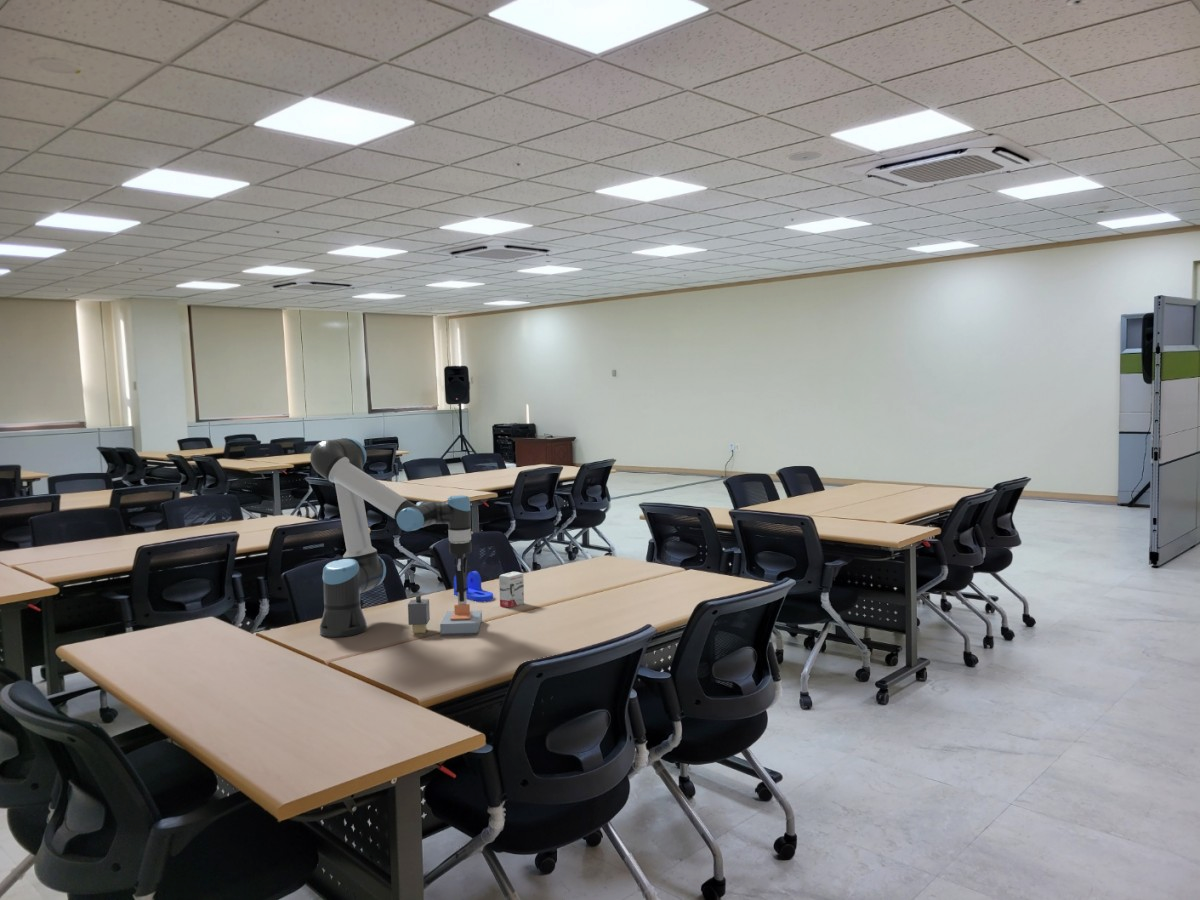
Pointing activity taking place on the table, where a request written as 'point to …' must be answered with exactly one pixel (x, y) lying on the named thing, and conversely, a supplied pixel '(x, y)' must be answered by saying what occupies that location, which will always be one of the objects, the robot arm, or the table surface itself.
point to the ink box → (511, 589)
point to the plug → (418, 614)
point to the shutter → (461, 612)
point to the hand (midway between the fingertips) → (462, 610)
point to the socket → (461, 624)
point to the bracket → (474, 588)
